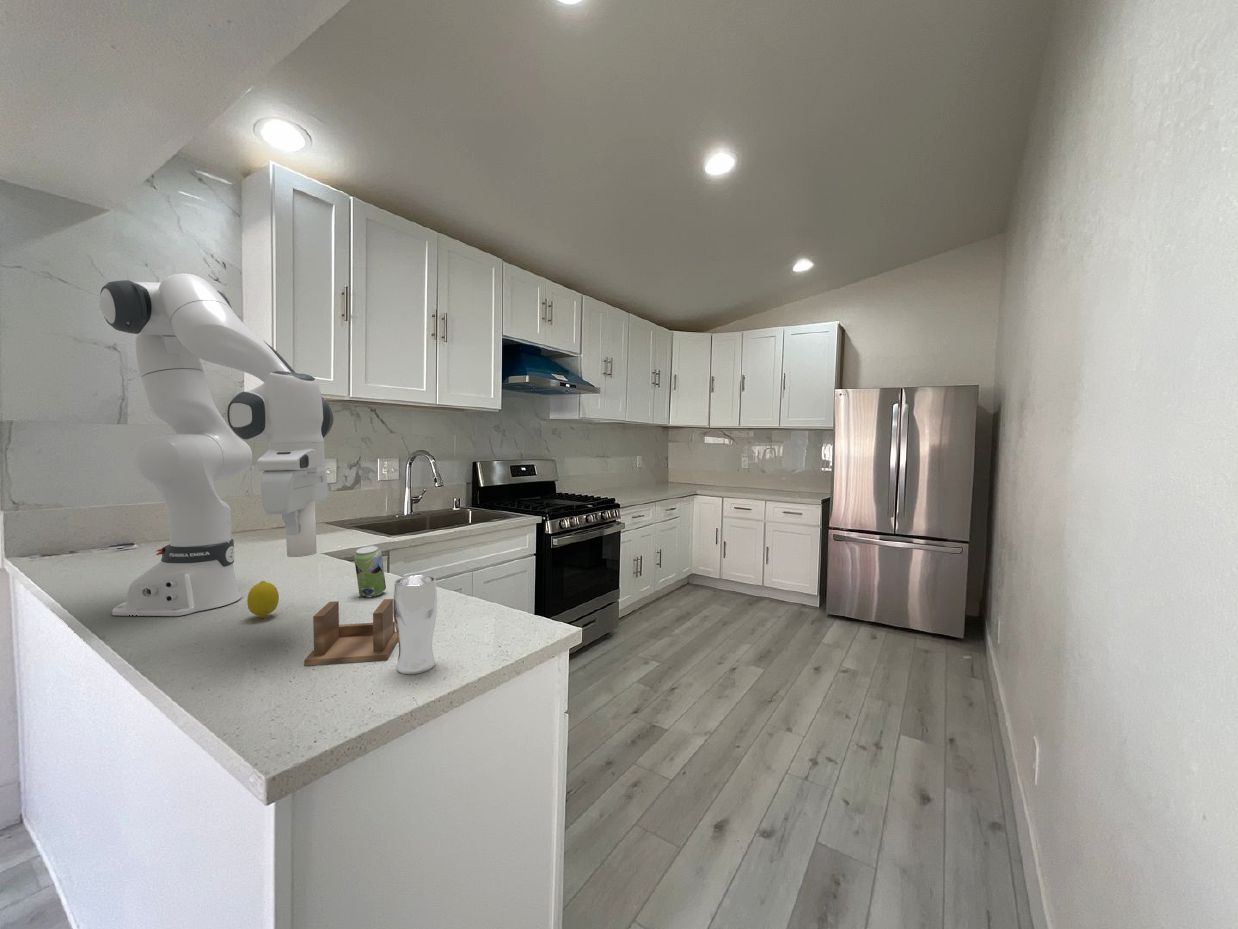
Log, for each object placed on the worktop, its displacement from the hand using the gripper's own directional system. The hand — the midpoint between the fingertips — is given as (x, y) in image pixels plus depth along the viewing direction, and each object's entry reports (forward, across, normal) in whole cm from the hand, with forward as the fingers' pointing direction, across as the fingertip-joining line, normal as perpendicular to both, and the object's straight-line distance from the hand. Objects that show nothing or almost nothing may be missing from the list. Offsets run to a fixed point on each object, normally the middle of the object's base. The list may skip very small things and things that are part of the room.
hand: (300, 531), depth 97 cm
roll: (+4, 0, 0) cm, 4 cm away
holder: (+21, +6, +11) cm, 25 cm away
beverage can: (+21, -28, +4) cm, 35 cm away
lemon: (+21, -15, -14) cm, 29 cm away
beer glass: (+22, +15, +23) cm, 35 cm away
